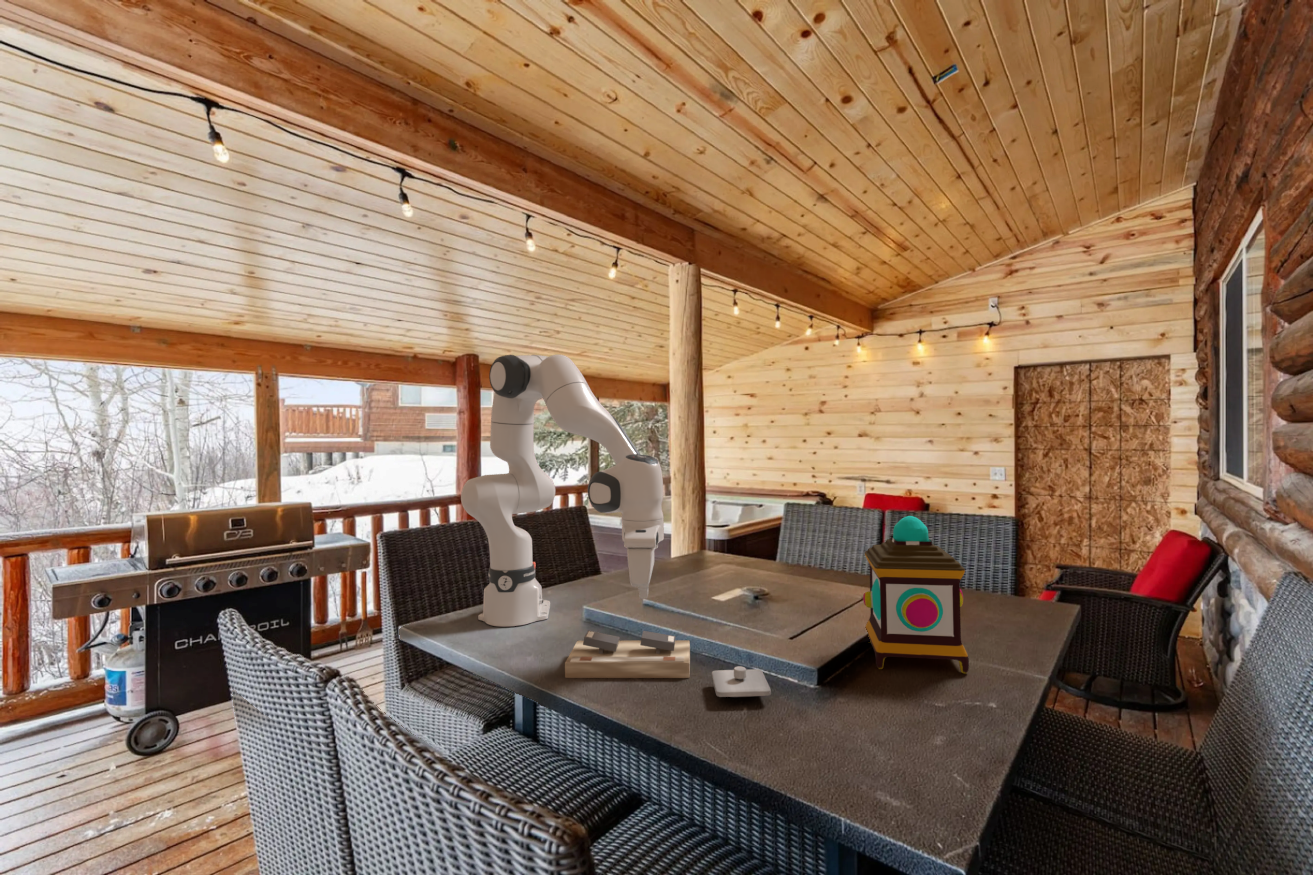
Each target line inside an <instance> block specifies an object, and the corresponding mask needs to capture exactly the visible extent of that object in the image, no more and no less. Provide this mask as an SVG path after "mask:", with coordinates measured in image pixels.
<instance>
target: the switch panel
mask: <svg viewBox="0 0 1313 875" xmlns="http://www.w3.org/2000/svg"><path fill="white" fill-rule="evenodd" d="M583 642H584V640H577V641H576V642H575V645H574V646H573V648H572V650H571V651H570V652H569V655H568V657H567V658H566V660H565V662H564V678H565V679H576V678H577V679H587V678H588V679H592V678H593V679H596V678H597V679H598V678H599V679H607V678H608V679H653V678H654V679H663V678H664V679H690V677H691V676H690V672H691V671H690V668H691V645H690V643H691V642H690V640H689V639H688V640H682V639H681V640H680V639H679V640H678V639H677V640H676V639H675V646H674V651H670V650H665V649H659V648H653V647H647V646H642V645H640V644H641V640H619V644H618V647H617V650H616V652H615V651H610V650H605V649H601V648H596V647H591V646H586V645H583Z"/></svg>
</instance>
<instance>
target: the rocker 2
mask: <svg viewBox="0 0 1313 875" xmlns="http://www.w3.org/2000/svg"><path fill="white" fill-rule="evenodd" d="M640 639H641V644H640V645H642V646H647V647H653V648H659V649H665V650H670V651H674V646H675V640H676V635H670V634H664V633H659V632H654V631H647V630H643V631H642V634H641V638H640Z"/></svg>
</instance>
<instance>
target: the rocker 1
mask: <svg viewBox="0 0 1313 875" xmlns="http://www.w3.org/2000/svg"><path fill="white" fill-rule="evenodd" d="M583 641H584V642H583V645H586V646H591V647H596V648H601V649H605V650H610V651H615V652H616V650H617V647H618V644H619V641H620V636H618V635H612V634H608V633H603V632H598V631H594V630H587V632H586V633H585V635H584V637H583Z"/></svg>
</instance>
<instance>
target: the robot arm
mask: <svg viewBox="0 0 1313 875" xmlns="http://www.w3.org/2000/svg"><path fill="white" fill-rule="evenodd" d="M488 374H489V377H488V378H489V379H488V380H489V382H490V383H489V384H490V387H491V388H492V390H493V391H494V396H493V399H492V407H491V413H490V415H491V416H490V437H489V438H490V439H489V440H490V441H489V443H490V444H489V447H490V450H491V452H492V454H493V455H494V456H495V457H497V458H499V459H500V460H502V461H504V462H506V463H507V466H508V473H498V474H497V473H494V474H485V475H481V476H480V475H479V476H477V477H473V478H469V479H468V480H467V481H466V482H464V485H463V486H462V489H461V493H460V501H461V506H462V507H463V509H464V511H466V513H467V514H468V515H470V516H471V517H472V518H474V519H475V520H476V521H477V522H479V524H480V525H481V527H482V528H483V530H484V532H485V534H486V537H487V540H488V549H489V563H490V565H489V568H488V573H487V574H488V581H489V584H488V585H487V586H485V587H484V590H483V609H482V613H480V614H478V616H477V617H478V618H477V620H479V621H483V622H484V623H486V624H487V625H490V626H494V627H515V626H516V627H518V626H524V625H527V624H532V623H534V622H539V621H544V620H547V619H549V614H550V608H551V601H550V600H547V599H543V591H542V590H543V588H542V585H541V583H539V581H538V580H537V579H536V575H537V574H536V561H533V538H532V536H531V535H530V533H529V532H528V531H526V530H525V529H523V528H522V527H519V526H516V525H515V524H514V521H513V515H516V514H517V515H518V514H525V513H535V512H537V511H541V510H543V509H546V508H549V507H550V506H551V505H552V504H553V502H554V500H555V497H556V484H555V482H554V481H553V479H552V478H551V477H550V475H548V474H547V473H546V472H545V471H544V470H543V469H542V468H541V467H540V465H539V463H538V460H537V457H536V454H535V447H534V445H535V444H534V441H535V440H534V439H535V438H534V432H535V431H534V429H535V427H534V426H535V422H534V421H535V406H536V404H537V402H538V401H539V400H541V399H543V401H544V404H545V406H546V408H547V411H548V413H549V415H550V417H551V418H552V419H553V421H554V422H555V424H556V425H557V426H558V427H559V428H560V429H561V430H562V431H565V432H567V433H570V434H572V435H577V436H581V437H584V438H586V439H590V440H592V441H595V442H596V443H598V444H600V445H601V446H602V447H603V448H604V449H605V450H606V451H607V452H608V453H609V455H610V457H611V458H612V460H613V461H614V463H615V464H614V465H613V466H611V467H607V468H606V469H602V470H599V471H596V472H595V473H593V474H592V476H591V478H590V479H589V481H588V485H587V497H588V501H589V503H590V505H591V507H592V508H593V509H594V510H595V511H597V512H599V513H602V514H614V513H621V539H622V540H621V541H622V542H623V547H624V548H626V550H627V551H626V552H627V553H626V554H627V566H628V573H629V574H628V575H629V582H630V585H631V586H632V587H633V588H634V587H635V588H638V598H639V599H641V600H646V599H648V596H649V586H650V582H651V578H652V573H653V570H654V565H655V550H656V549H658V547H659V543H660V542H662V541H664V539H665V538H664V537H665V534H664V530H665V527H664V526H665V524H664V523H665V522H664V520H665V519H664V518H665V517H664V512H663V508H662V506H663V505H662V504H663V500H664V480H663V471H662V466H661V463H660V461H659V460H658V459H657V458H655V457H654V456H651V455H647V454H641V453H640V452H639V450H638V449H637V447H636V446H635V444H634V443H633V441H632V440H631V438H630V436H629V435H628V434H627V433H626V430H625V429H624V428H623V427H622V426H621V424H620V422H619V421H618V420H617V418H615V417H614V415H613V414H612V413H611V412H610V411H608V410H607V409H606V408H605V407H604V405H602V404H601V402H600V401H599V400H598V398H597V397H596V396H595V394H594V393H593V392H592V391H593V390H592V389H591V388H590V386H589V384H588V382H587V380H586V378H585V377H584V374H582V372H581V370H580V369H579V368H578V366H577V365H576V364H575V363H574V361H573V360H572V359H571V358H570V357H569V356H566V355H564V354H553V355H550V356H547V355H541V354H531V355H529V354H525V355H523V354H520V355H514V354H506V355H501V356H499V357H496V358H495V359H494V361H493V362H492V364H491V366H490V369H489V373H488Z"/></svg>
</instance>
